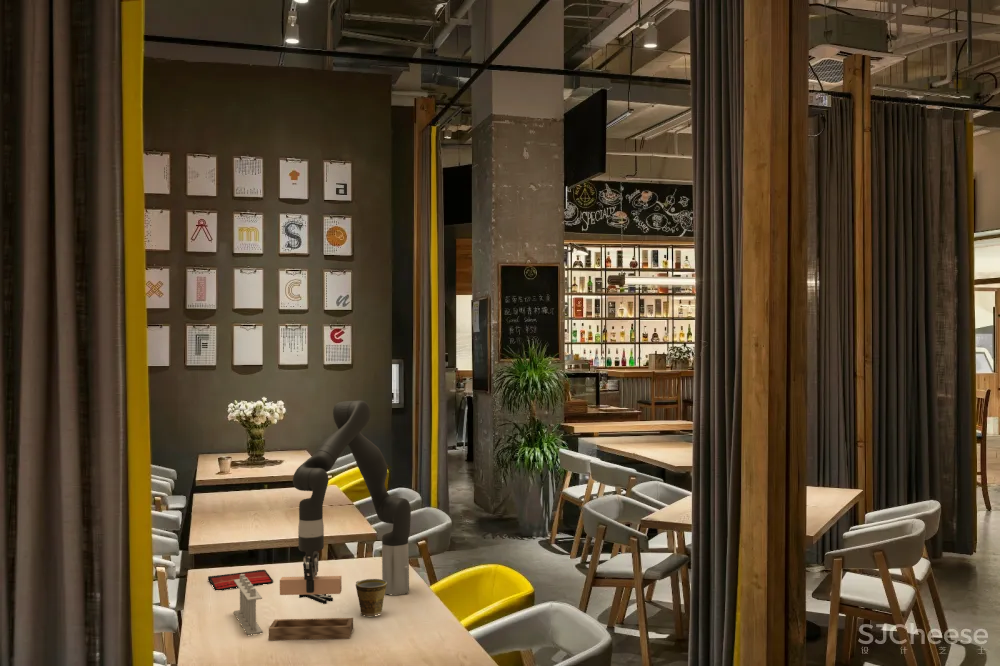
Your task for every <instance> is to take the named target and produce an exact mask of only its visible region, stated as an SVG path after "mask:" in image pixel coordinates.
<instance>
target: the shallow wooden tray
mask: <svg viewBox="0 0 1000 666" xmlns="http://www.w3.org/2000/svg"><path fill="white" fill-rule="evenodd" d="M353 631H354V617H337V618H336V617H334V618H333V617H331V618H330V617H329V618H326V617H325V618H291V619H290V618H287V619H286V618H285V619H279V618H277V619H273V621H272V623H271V624H270V626H268V641H291V640H292V641H294V640H295V641H297V640H302V641H303V640H342V639H346V640H347V639H348V640H349V639H350V638H351V636H352V634H353Z"/></svg>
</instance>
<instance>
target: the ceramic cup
mask: <svg viewBox="0 0 1000 666" xmlns="http://www.w3.org/2000/svg"><path fill="white" fill-rule="evenodd" d="M386 585H387V582H386V581H385V580H382V578H381V579H379V578H368V579H362V580H358V581H356V582H355V589H356V595H357V598H358V604H359V609H360V615H361V614H362V615H361V616H363V615H365V616H364V617H366V616H375V615H378V614H381V615H382V611H383V605H384V599H385V595H386V594H385V592H386ZM378 616H379V615H378ZM375 617H376V616H375Z"/></svg>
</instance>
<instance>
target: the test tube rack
mask: <svg viewBox="0 0 1000 666" xmlns="http://www.w3.org/2000/svg"><path fill="white" fill-rule="evenodd" d="M234 582H235V583H236V585H237V586H238V587H239V588H238V589H239V610H234V611H233V614H234V613H235V614H234V616H235V615H236V616H237V617H236V616H235V617H236V619H237V618H238V619H239V621H240V622H239V621H238V622H239V624H240V623H241V624H242V625H241V624H240V625H241V627H242V626H243V627H242V628H244V629H245V630H244V629H243V630H244V631H246V632H245V634H246V635H247V634H248V635H250V636H254V635H253V634H257V635H261V634H260V633H264V632H263V629H262V628H261V626H259V624H258V622H257V612H256V611H257V610H256V609H257V605H256V604H257V603H256V602H257V600H263V597H262V595H261V594H260V593H259V592H258V590H257V589H256V588H255V586H253V585H252V584H251V582H250V581H249V580H248V579H247V577H245V574H241V575H240V579H236V580H234ZM238 619H237V620H238ZM251 634H252V635H251ZM248 635H247V636H248Z"/></svg>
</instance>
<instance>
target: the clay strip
mask: <svg viewBox="0 0 1000 666" xmlns="http://www.w3.org/2000/svg"><path fill="white" fill-rule="evenodd" d="M314 577H315V579H314V592H313V593H307V592H306V580H305V579H304V576H282V577H280V579H279V596H293V595H295V596H296V595H297V596H299V595H310V594H328V595H341V593H342V591H343V590H342V586H343V585H342V575H324V576H323V575H321V576H320V575H319V576H318V575H317V576H314Z"/></svg>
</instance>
